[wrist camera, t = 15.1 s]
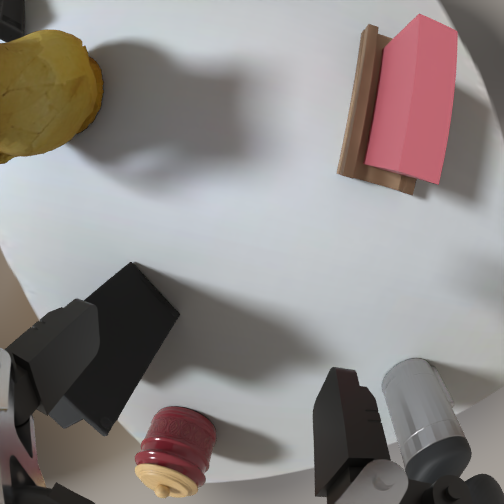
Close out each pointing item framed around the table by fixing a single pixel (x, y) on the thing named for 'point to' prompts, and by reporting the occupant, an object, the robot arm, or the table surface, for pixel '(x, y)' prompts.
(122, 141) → the table surface
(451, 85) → the book
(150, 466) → the canister
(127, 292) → the bookend
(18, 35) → the magazine
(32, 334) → the robot arm
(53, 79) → the pitcher
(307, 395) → the table surface
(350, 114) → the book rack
